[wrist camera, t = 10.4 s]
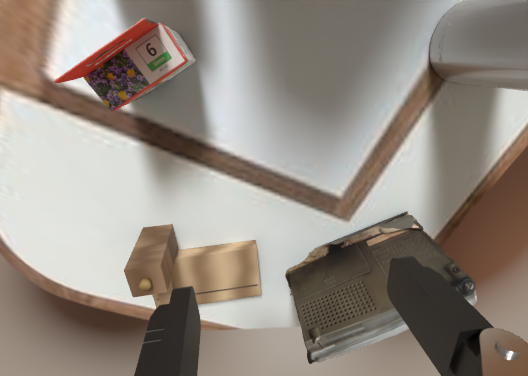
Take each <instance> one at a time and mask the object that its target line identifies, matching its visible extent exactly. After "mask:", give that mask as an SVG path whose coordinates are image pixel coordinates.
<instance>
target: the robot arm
mask: <svg viewBox="0 0 528 376" xmlns="http://www.w3.org/2000/svg"><path fill="white" fill-rule="evenodd" d="M430 61H431V64H432V67H433V69H434V71H435V72H436V74H437V75H438V76H439V77H441V78H442V79H444V80H446V81H450V82H457V83H465V84H473V85H480V86H489V87H497V88H506V89H514V90H522V91H528V0H465V1H462V2H461V3H459V4H457V5H455V6H454V7H453V8H451V9H450V10H449V11H448V12H447V13H446V14H445V15H444V16H443V18H442V19H441V20H440V22H439V23H438V25H437V27H436V29H435V31H434V33H433V36H432V40H431V44H430ZM387 293H388V296H389V299H390V301H391V303H392V304H393V306H394V307H395V309H396V310H397V312H398V313H399V314H400V316H401V317H402V319H403V320H404V322H405V323H406V325H407V326H408V328H409V329H410V331H411V332H412V333H413V335H414V336H415V338H416V339H417V341H418V342H419V344H420V345H421V347H422V348H423V350H424V351H425V352H426V354H427V355H428V357H429V358H430V360H431V361H432V363H433V364H434V366H435V367H436V369H437V370H438V372H439V373H440V374H441V376H528V343H527V342H526V341H524V340H523V339H522V338H520V337H519V336H517V335H515V334H513V333H511V332H509V331H506V330H503V329H499V328H494V327H493V326H492V325H491V324H490V323H489V322H488V321H487V320H486V319H485V318H484V317H483V316H482V315H481V314H480V313H479V312H478V311H477V310H476V309H475V308H474V307H473V306H472V305H471V304H470V303H469V302H468V301H467V300H466V299H465V298H464V297H463V296H462V295H460V294H459V292H458V291H457V290H456V289H455V288H454V287H453V286H451V284H450V283H449V282H448V281H447V280H446V279H445V278H444V277H443V276H442V275H441V274H440V273H438V272H436V271H435V270H433V269H431V268H429V267H428V266H426V267H423V266H422V265H421V264H420V263H419V262H418V261H417V259H416V258H415V257H413V256H411V255H409V256H402V257H395V258H392V259H391V261H390V267H389V274H388V282H387ZM200 331H201V324H200V314H199V310H198V305H197V301H196V296H195V292H194V288H193V286H188V287H181V288H174V289H173V290H172V292H171V297H170V302H169V304H163V305H159V306H158V307H157V309H156V310H155V311H154V313H153V314H152V316H151V317H150V320H149V324H148V327H147V333H146V335H145V338H144V344H143V346H142V349H141V353H140V357H139V361H138V364H137V368H136V372H135V375H134V376H197V369H198V357H199V344H200Z"/></svg>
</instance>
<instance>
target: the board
mask: <svg viewBox="0 0 528 376" xmlns="http://www.w3.org/2000/svg"><path fill="white" fill-rule="evenodd" d="M171 276H172V279H173V283H174V287H175V288H181V287H188V286H193V288H194V292H195V296H196V301H197V304H202V303H209V302H216V301H222V300H229V299H236V298H242V297H249V296H256V295H261V288H260V278H259V267H258V256H257V247H256V241H255V240H252V241H244V242H237V243H229V244H222V245H214V246H206V247H199V248H191V249H184V250H177V253H176V257H175V262H174V266H173V271H172V275H171ZM153 298H154V301H155V304H156V308H157V307H158V306H159V305H160V302H159V299H158V295H157V294H153Z"/></svg>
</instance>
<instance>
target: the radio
mask: <svg viewBox="0 0 528 376" xmlns="http://www.w3.org/2000/svg"><path fill="white" fill-rule="evenodd" d="M409 255H411V256H413V257H415V258H416V259H417V261H418V262H419V263H420V264H421V265H422V266H423V267H426V266H428V267H429V268H431V269H433V270H435V271H436V272H438V273H440V274H441V275H442V276H443V277H444V278H445V279H446V280H447V281H448V282H449V283H450V284H451V286H453V287H454V288H455V289H456V290H457V291H458V292H459V294H460V295H462V296H463V297H464V298H465V299H466V300H467V301H468V302H469V303H470V304H471V305H472V306H473V305H474V304H475V303H476V301H477V297H476V290H475V283H474V281H473V280H472V279H471V278H470V277H469V276H468V275H467V274H466V273H465V272H464V270H463V269H462V268H461V267H460V266H459V265H458V264H457V263H456V262H455V261H454V260H453V259H452V258H451V257H450V256H449V255H448V254H447V253H446V252H445V251H444V250H443V249H442V248H441V247H440V246H439V245H438V244H437V243H436V242H435V241H434V240H433V239H432V238H431V237H430V236H429V235H428V234H427V233H425V232H424V231H423V227H422V226H421V225H420V224H419V223H418V222H417V220H416V219H415V218H414V217H413V216H412V215H408V212H405V213H402V214H400V215H397V216H395V217H392V218H390V219H387V220H385V221H382V222H380V223H377V224H375V225H372V226H370V227H367V228H365V229H362V230H360V231H357V232H355V233H352V234H350V235H347V236H345V237H342V238H340V239H338V240H335V241H333V242H330V243H328V244H325V245H323V246H320V247H318V248H315V249H314V251H312V252H310V253H309V256H308V257H307V258H306V259H305V261H303V262H301V263H300V264H298V265H296V266H294V267H292V268H289V269H288V270H287V271H286V279H287V281H288V284H289V287H290V289H291V294H290V295H294V301H295V306H296V309H297V313H298V318H299V321H300V324H301V328H302V333H303V338H304V342H305V346H306V348H307V358H308V362H309V363H310V364H311V363H313V362H322V361H324V360H326V359H329V358H333V357H338V356H341V355H343V354H345V353H348V352H351V351H353V350H356V349H359V348H362V347H365V346H367V345H371V344H373V343H376V342H378V341H380V340H383V339H386V338H387V337H390V336H396V335H398V334H399V333H400V332H403V331H405V330H407V329H409V328H408V326H407V325H406V323H405V322H404V320H403V319H402V317H401V316H400V314H399V313H398V312H397V310H396V309H395V307H394V306H393V304H392V303H391V301H390V299H389V296H388V293H387V282H388V274H389V267H390V261H391V259H392V258H395V257H402V256H409Z"/></svg>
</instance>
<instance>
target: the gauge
mask: <svg viewBox="0 0 528 376" xmlns="http://www.w3.org/2000/svg"><path fill="white" fill-rule="evenodd" d="M177 249H178V246H177V242H176V238H175V233H174V229H173V225H172V224H170V225H162V226H153V227H145V228H143V229H142V232H141V234H140V236H139V238H138V240H137V243H136V245H135V247H134V249H133V252H132V254H131V256H130V258H129V260H128V263H127V265H126V267H125V269H124V272H125V275H126V278H127V281H128V284H129V287H130V290H131V293H132V296H133V297H138V296H145V295H152V294H157V295H158V299H159V302H160V305H163V304H169V302H170V297H171V292H172V290H173V289H174V288H175V287H174V283H173V279H172V276H171V275H172V271H173V266H174V262H175V257H176V253H177Z"/></svg>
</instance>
